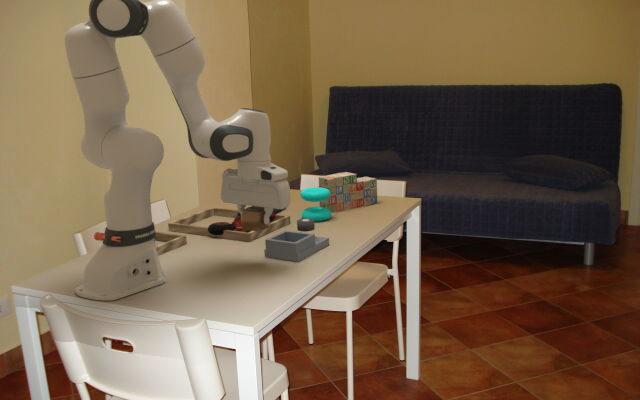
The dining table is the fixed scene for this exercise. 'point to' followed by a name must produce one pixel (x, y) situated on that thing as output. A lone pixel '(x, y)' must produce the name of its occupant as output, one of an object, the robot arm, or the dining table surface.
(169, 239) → the wooden frame
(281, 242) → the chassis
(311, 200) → the donuts
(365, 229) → the dining table surface
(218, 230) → the toy motorcycle
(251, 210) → the brown block
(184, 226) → the wooden open frame
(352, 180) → the stack of blocks
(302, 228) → the wheel
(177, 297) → the dining table surface
